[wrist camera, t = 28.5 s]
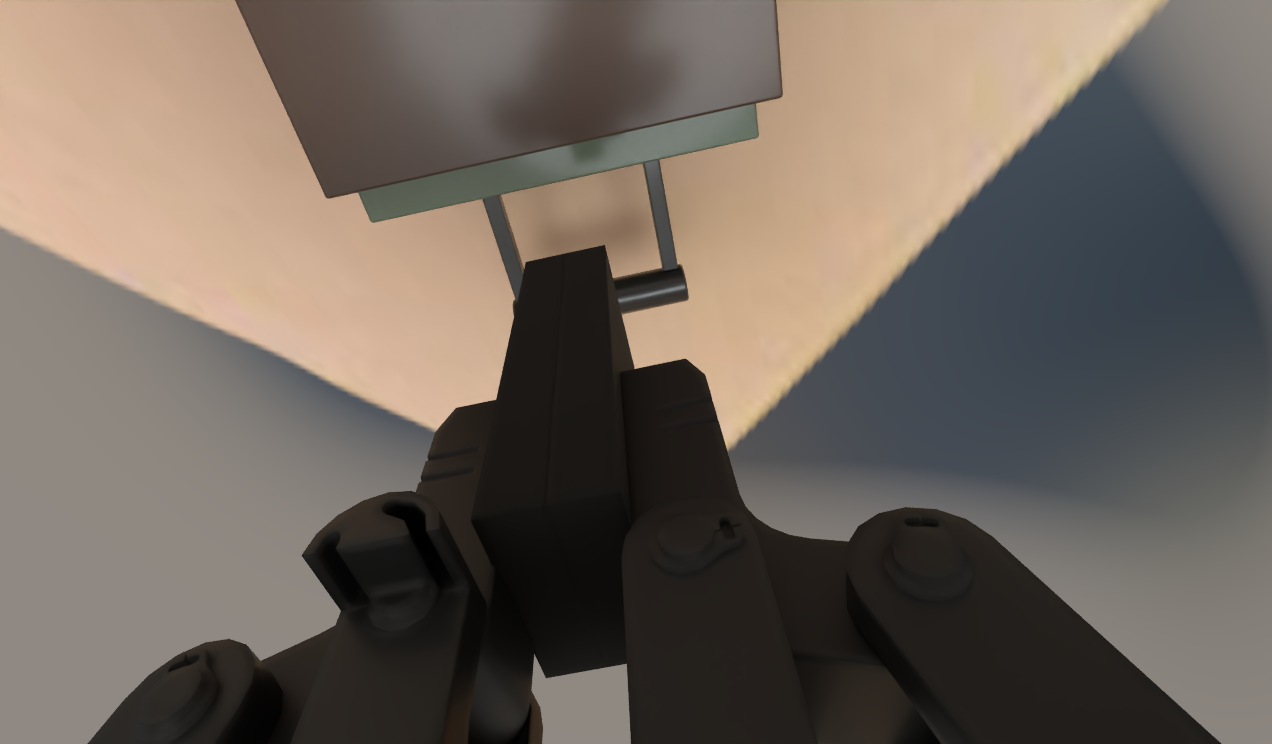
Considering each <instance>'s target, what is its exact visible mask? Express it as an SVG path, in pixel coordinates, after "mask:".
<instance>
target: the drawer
mask: <svg viewBox="0 0 1272 744" xmlns="http://www.w3.org/2000/svg"><path fill="white" fill-rule="evenodd" d="M758 136H759V133H758V122H757V111H756V104H751V105H747V106H742V107H738V108H733V109H729V110H724V111H720V112H715V113H711V114H706V115H702V116H697V117H693V118H688V119H684V120H679V121H675V122H670V123H666V124H661V125H657V126H652V127H648V128H644V129H639V130H635V131H630V132H626V133H621V134H617V135H612V136H608V137H603V138H599V139H594V140H590V141H585V142H581V143H576V144H572V145H567V146H563V147H558V148H554V149H549V150H545V151H541V152H536V153H532V154H527V155H523V156H518V157H514V158H509V159H505V160H500V161H496V162H491V163H487V164H482V165H478V166H473V167H469V168H464V169H460V170H455V171H451V172H446V173H442V174H437V175H433V176H429V177H424V178H420V179H415V180H411V181H406V182H402V183H397V184H393V185H388V186H384V187H379V188H375V189H370V190H366V191H361V192H358V193H359V195H360V198H361V200H362V202H363V205H364V207H365V209H366V212H367V214H368V216H369V219H370V221H371V222H372V223H375V222H379V221H384V220H388V219H393V218H397V217H402V216H406V215H411V214H415V213H420V212H424V211H429V210H433V209H438V208H443V207H447V206H452V205H456V204H461V203H465V202H470V201H474V200H479V199H483V202H484V205H485V208H486V211H487V214H488V217H489V220H490V224H491V227H492V230H493V233H494V236H495V239H496V242H497V245H498V248H499V251H500V254H501V257H502V260H503V263H504V266H505V269H506V272H507V275H508V278H509V281H510V284H511V287H512V290H513V293H514V296H515V300H514V301H513V313H514V315H515V310H516V306H517V301H518V296H519V292H520V287H521V282H522V278H523V273H524V267H523V264H522V261H521V258H520V255H519V251H518V248H517V245H516V242H515V239H514V235H513V232H512V229H511V226H510V223H509V219H508V216H507V213H506V210H505V207H504V203H503V200H502V197H501V194H506V193H510V192H515V191H519V190H524V189H529V188H533V187H538V186H542V185H547V184H551V183H556V182H560V181H565V180H569V179H574V178H578V177H583V176H587V175H592V174H596V173H601V172H606V171H610V170H615V169H619V168H624V167H628V166H633V165H637V164H642V163H643V168H644V174H645V179H646V184H647V190H648V195H649V200H650V206H651V211H652V216H653V221H654V227H655V232H656V237H657V243H658V248H659V253H660V258H661V264H662V268H659V269H655V270H650V271H645V272H641V273H636V274H631V275H627V276H622V277H617V278H613V281H614V285H615V289H616V294H617V298H618V302H619V306H620V310H621V314H626V313H631V312H636V311H640V310H645V309H650V308H655V307H659V306H664V305H669V304H674V303H678V302H683V301H687V300H688V298H689V296H688V289H687V283H686V278H685V274H684V270H683V267H682V265H681V264H678V265H677V259H676V253H675V247H674V242H673V236H672V230H671V224H670V219H669V213H668V207H667V202H666V196H665V190H664V184H663V179H662V173H661V167H660V162H659V160H660V159H664V158H669V157H673V156H678V155H682V154H687V153H692V152H696V151H701V150H705V149H710V148H714V147H719V146H723V145H728V144H732V143H737V142H741V141H746V140H750V139H755V138H757V137H758Z"/></svg>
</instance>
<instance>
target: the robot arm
mask: <svg viewBox="0 0 1272 744" xmlns="http://www.w3.org/2000/svg"><path fill="white" fill-rule="evenodd" d="M421 480H422V481H421V482H420V483H419V484H418V487H417V490H416V492H412V491H405V492H389V493H386V494H382V495H379V496H376V497H373V498H370V499H367V500H364V501H362V502H360V503H358V504H357V505H355V506H353V507H352V508H350V509H348V510H346V511H344V512H343V513H341V514H339V515H338V516H336V517H335V518H334V519H333V520H332V521H331V522H330V523H328V524H327V525H326V526H325V527H324V528H323V529H322V530H320V531H319V532H318V533H317V534H316V536H315V537H314V538H313V540H312V541H311V543H310V544H309V545H308V547H307V548H306V550H305V551H304V553H303V554H302V557H303V558H304V559H305V561H306V562H307V564H308V565H309V566H310V568H311V569H312V571H313V572H314V573H315V575H316V576H317V578H318V579H319V580H320V582H321V583H322V585H323V586H324V588H325V589H326V590H327V592H328V593H329V595H330V596H331V597H332V599H333V600H334V602H335V603H336V604H337V606H338V607H339V608H340V610H341V612H340V615H339V618H338V620H337V623H336V625H335V626H333V627H332V628H330V629H328V630H326V631H324V632H322V633H321V634H319V635H316V636H314V637H312V638H310V639H308V640H305V641H303V642H301V643H299V644H297V645H295V646H292V647H290V648H288V649H286V650H284V651H282V652H279V653H277V654H275V655H273V656H271V657H268V658H266V659H264V660H262V661H260V660H259V659H258V657H257V656H256V655H255V654H254V653H253V652H252V651H251V649H250V648H249V647H248V646H247V645H246V644H243V643H240V642H237V641H234V640H230V639H227V640H220V641H213V642H206V643H204V644H201V645H199V646H197V647H194V648H192V649H190V650H188V651H185V652H183V653H181V654H179V655H177V656H175V657H174V658H173V659H171V660H170V661H168V662H167V663H166V664H164V665H163V666H161V667H160V668H158V669H157V670H156V671H154V672H153V673H151V674H150V675H149V676H148V677H147V678H146V679H145V680H144V681H143V682H142V683H141V684H140V685H139V686H138V687H137V688H136V689H135V690H134V691H133V692H132V693H131V694H130V695H129V696H128V697H127V698H126V699H125V700H124V701H123V702H122V703H121V704H120V706H119V707H118V708H117V709H116V710H115V712H114V713H113V714H112V715H111V716H110V718H109V719H108V720H107V721H106V722H105V724H104V725H103V726H102V727H101V729H100V730H99V731H98V732H97V733H96V734H95V736H94V737H93V738H92V739H91V741H90V742H89V743H88V744H542V734H543V733H542V732H543V725H542V718H541V710H540V706H539V705H538V703H537V701H536V699H535V697H534V695H533V693H532V691H531V687H532V675H533V662H534V654H535V656H536V658H537V660H538V662H539V664H540V666H541V668H542V671H543V673H544V675H545V677H546V678H549V677H555V676H561V675H566V674H571V673H577V672H583V671H588V670H593V669H600V668H605V667H611V666H616V665H621V664H627V674H628V692H629V712H630V731H631V744H1221V743H1220V742H1219V741H1218V740H1217V739H1216V738H1214V737H1213V736H1212V735H1211V734H1210V733H1209V732H1208V731H1207V730H1206V729H1204V728H1203V727H1202V726H1201V725H1200V724H1199V723H1198V722H1197V721H1196V720H1194V719H1193V718H1192V717H1191V716H1190V715H1189V714H1188V713H1187V712H1186V711H1185V710H1183V709H1182V708H1181V707H1180V706H1179V705H1178V704H1177V703H1176V702H1175V701H1174V700H1172V699H1171V698H1170V697H1169V696H1168V695H1167V694H1166V693H1165V692H1163V691H1162V690H1161V689H1160V688H1159V687H1158V686H1157V685H1156V684H1155V683H1153V681H1151V680H1150V679H1149V678H1148V677H1147V676H1146V675H1145V674H1144V673H1143V672H1142V671H1140V670H1139V669H1138V668H1137V667H1136V666H1135V665H1134V664H1133V663H1132V662H1130V661H1129V660H1128V659H1127V658H1126V657H1125V656H1124V655H1123V654H1122V653H1121V652H1119V651H1118V650H1117V649H1116V648H1115V647H1114V646H1113V645H1112V644H1111V643H1109V642H1108V641H1107V640H1106V639H1105V638H1104V637H1103V636H1102V635H1101V634H1099V633H1098V632H1097V631H1096V630H1095V629H1094V628H1093V627H1092V626H1091V625H1090V624H1088V623H1087V622H1086V621H1085V620H1084V619H1083V618H1082V617H1081V616H1080V615H1079V614H1077V613H1076V612H1075V611H1074V610H1073V609H1072V608H1071V607H1070V606H1069V605H1067V604H1066V603H1065V602H1064V601H1063V600H1062V599H1061V598H1060V597H1059V596H1057V595H1056V594H1055V593H1054V592H1053V591H1052V590H1051V589H1050V588H1049V587H1048V586H1046V585H1045V584H1044V583H1043V582H1042V581H1041V580H1040V579H1039V578H1038V577H1036V576H1035V575H1034V574H1033V573H1032V572H1031V571H1030V570H1029V569H1028V568H1027V567H1025V566H1024V565H1023V564H1022V563H1021V562H1020V561H1019V560H1018V559H1017V558H1015V557H1014V556H1013V555H1012V554H1011V553H1010V552H1009V551H1008V550H1007V549H1006V548H1004V547H1003V546H1002V545H1001V544H1000V543H999V542H998V541H997V540H996V539H995V538H993V537H992V536H991V535H989V534H988V533H986V532H985V531H983V530H982V529H980V528H979V527H977V526H976V525H974V524H973V523H971V522H970V521H968V520H967V519H964V518H961V517H958V516H955V515H952V514H949V513H946V512H943V511H940V510H937V509H924V508H907V507H905V508H901V509H896V510H892V511H887V512H883V513H879V514H877V515H875V516H874V517H872V518H871V519H869V520H868V521H866V522H864V523H863V524H861V525H860V526H858V528H857V529H856V531H855V532H854V534H853V536H852V537H851V539H850V541H849V542H847V541H834V540H821V539H810V538H804V537H798V536H793V535H789V534H786V533H783V532H781V531H778V530H775V529H773V528H771V527H769V526H768V525H766V524H764V523H763V522H761V521H760V520H758V519H757V518H756V517H755V516H754V515H753V514H752V513H751V512H750V511H749V510H748V509H747V508H746V506H745V504H744V502H743V500H742V498H741V496H740V494H739V491H738V487H737V484H736V480H735V477H734V473H733V470H732V466H731V463H730V459H729V456H728V452H727V449H726V445H725V442H724V439H723V435H722V432H721V428H720V425H719V421H718V419H717V414H716V411H715V407H714V404H713V401H712V397H711V393H710V390H709V387H708V383H707V380H706V376H705V374H704V373H702V372H701V371H700V370H699V369H698V368H696V367H695V366H694V365H693V364H692V363H690V362H689V361H688V360H687V359H681V360H677V361H672V362H667V363H662V364H657V365H652V366H647V367H642V368H638V369H634V364H633V360H632V356H631V352H630V348H629V344H628V339H627V335H626V331H625V327H624V323H623V319H622V314H621V310H620V306H619V302H618V298H617V294H616V289H615V285H614V281H613V277H612V273H611V269H610V265H609V260H608V256H607V252H606V248H605V245H603V246H598V247H593V248H589V249H584V250H580V251H575V252H570V253H566V254H561V255H556V256H552V257H547V258H542V259H538V260H533V261H529V262H526V264H525V269H524V273H523V278H522V282H521V287H520V292H519V296H518V301H517V306H516V310H515V315H514V320H513V324H512V329H511V334H510V338H509V343H508V348H507V352H506V357H505V362H504V366H503V371H502V376H501V380H500V385H499V390H498V394H497V399H496V400H493V401H488V402H483V403H478V404H473V405H469V406H464V407H459V408H456V409H455V410H454V411H453V412H452V413H451V415H450V416H449V417H448V418H447V419H446V420H445V422H444V423H443V424H442V425H441V426H440V427H439V429H438V430H437V431H436V433H435V436H434V439H433V442H432V445H431V448H430V451H429V454H428V461H427V462H426V463H425V466H424V469H423V472H422V475H421Z"/></svg>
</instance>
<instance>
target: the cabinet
mask: <svg viewBox="0 0 1272 744" xmlns="http://www.w3.org/2000/svg"><path fill="white" fill-rule="evenodd" d="M235 1H236V3H237V5H238V7H239V10H240V12H241V14H242V16H243V18H244V20H245V23H246V25H247V27H248V29H249V31H250V33H251V36H252V38H253V40H254V42H255V44H256V46H257V49H258V51H259V53H260V55H261V57H262V60H263V62H264V64H265V66H266V68H267V70H268V73H269V75H270V77H271V79H272V81H273V83H274V86H275V88H276V90H277V92H278V94H279V96H280V99H281V101H282V103H283V105H284V107H285V109H286V112H287V114H288V116H289V118H290V120H291V123H292V125H293V127H294V129H295V131H296V133H297V136H298V138H299V140H300V142H301V144H302V146H303V149H304V151H305V153H306V155H307V157H308V159H309V162H310V164H311V166H312V168H313V170H314V172H315V175H316V177H317V179H318V181H319V183H320V186H321V188H322V190H323V192H324V194H325V196H326V198H334V197H339V196H343V195H348V194H352V193H357V192H361V191H366V190H370V189H375V188H379V187H384V186H388V185H393V184H397V183H402V182H406V181H411V180H415V179H420V178H424V177H429V176H433V175H437V174H442V173H446V172H451V171H455V170H460V169H464V168H469V167H473V166H478V165H482V164H487V163H491V162H496V161H500V160H505V159H509V158H514V157H518V156H523V155H527V154H532V153H536V152H541V151H545V150H549V149H554V148H558V147H563V146H567V145H572V144H576V143H581V142H585V141H590V140H594V139H599V138H603V137H608V136H612V135H617V134H621V133H626V132H630V131H635V130H639V129H644V128H648V127H652V126H657V125H661V124H666V123H670V122H675V121H679V120H684V119H688V118H693V117H697V116H702V115H706V114H711V113H715V112H720V111H724V110H729V109H733V108H738V107H742V106H747V105H751V104H756V103H760V102H764V101H769V100H773V99H778V98H781V97H782V95H783V90H782V75H781V61H780V47H779V33H778V19H777V4H776V0H235Z"/></svg>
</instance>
